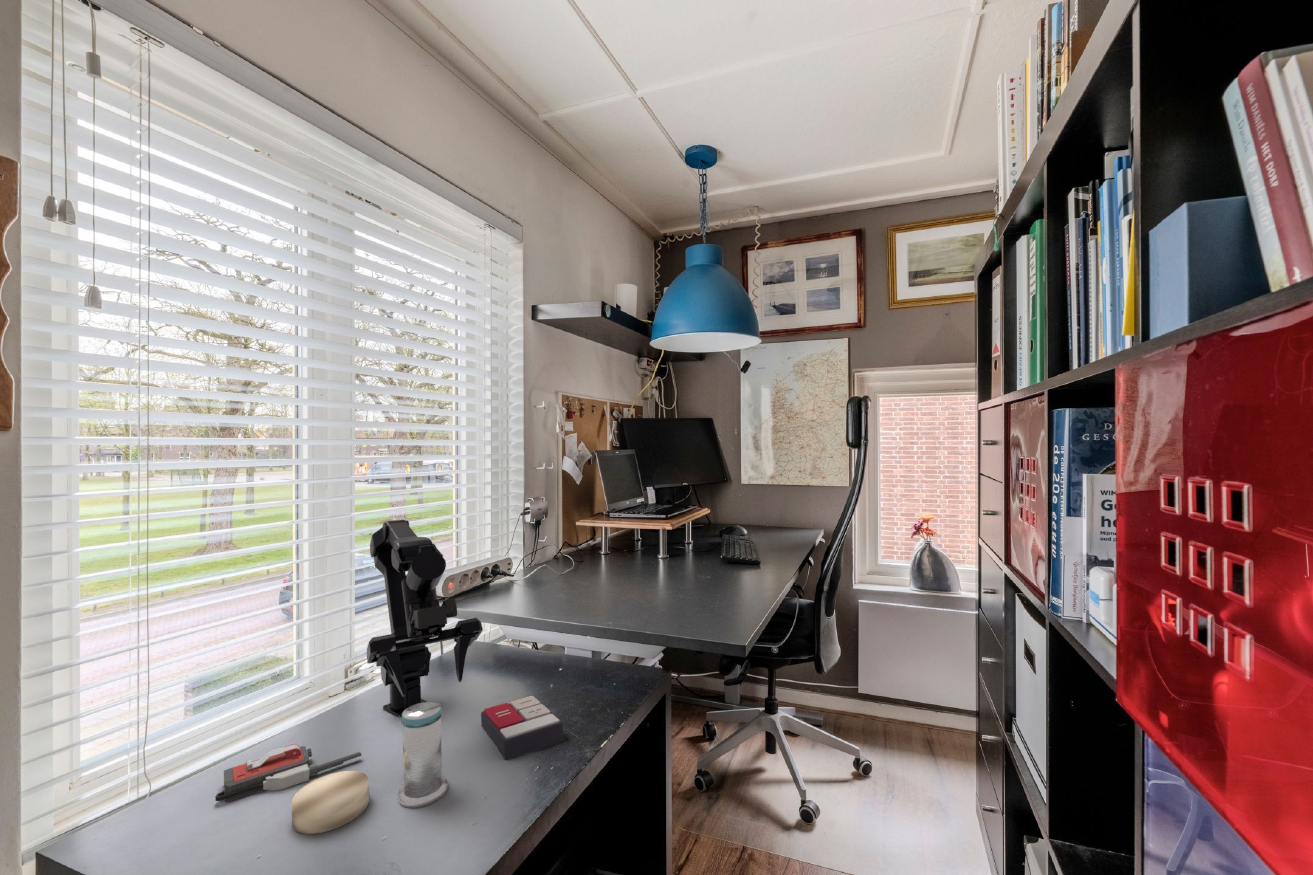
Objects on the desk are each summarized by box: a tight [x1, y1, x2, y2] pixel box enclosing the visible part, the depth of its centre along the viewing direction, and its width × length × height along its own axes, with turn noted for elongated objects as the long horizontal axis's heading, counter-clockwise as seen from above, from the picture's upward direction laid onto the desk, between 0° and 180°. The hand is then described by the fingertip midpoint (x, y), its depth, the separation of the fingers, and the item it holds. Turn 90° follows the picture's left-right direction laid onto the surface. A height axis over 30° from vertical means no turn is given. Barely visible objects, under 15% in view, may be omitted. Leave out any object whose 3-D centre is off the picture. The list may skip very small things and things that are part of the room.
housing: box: [397, 701, 449, 809], centre depth 87 cm, size 7×7×13 cm
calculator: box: [480, 695, 564, 761], centre depth 105 cm, size 11×4×15 cm
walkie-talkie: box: [214, 743, 362, 802], centre depth 93 cm, size 9×4×20 cm
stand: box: [291, 770, 370, 835], centre depth 83 cm, size 10×10×3 cm
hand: (432, 688), depth 95 cm, fingers open, 9 cm apart
